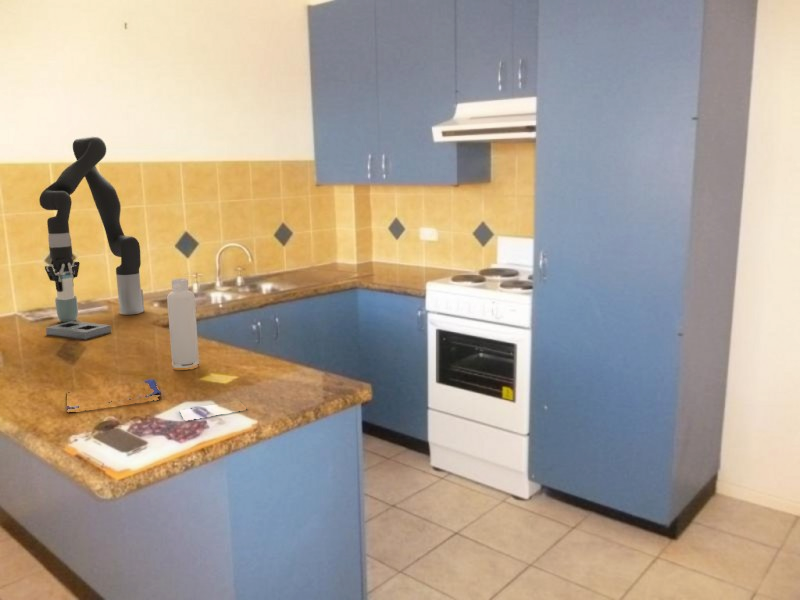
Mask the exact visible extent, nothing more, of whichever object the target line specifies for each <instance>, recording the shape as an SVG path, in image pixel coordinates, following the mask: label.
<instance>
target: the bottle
mask: <svg viewBox="0 0 800 600" xmlns="http://www.w3.org/2000/svg"><path fill="white" fill-rule="evenodd" d="M166 302H167V315H168V316H167V317H168V327H169V328H168V329H169V340H170V342H169V343H170V350H171V351H170V352H171V361H172V363H171V367H172V366H173V367H174V368H188V367H192V366H195V365H197V364H199V365H200V360H199V358H200V357H199V355H200V354H199V342H198V328H197V312H196V297H195V294H194V292H193V291H191V290H189V279H188V278H183V277H181V278H173V279H171V291H170V292H169V293H168V294H167V297H166ZM192 363H193V364H192ZM174 364H175V365H174Z"/></svg>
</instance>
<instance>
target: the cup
mask: <svg viewBox="0 0 800 600" xmlns="http://www.w3.org/2000/svg"><path fill="white" fill-rule="evenodd" d="M54 301H55V308H56V309H55V311H56V314H57V318H58V320H59V321H60V322H62V323H66V322H70V321H77V319H78V316H79V307H78V297H77V296H76V295H74V298H73V299H68V300H60V299H58V296H57V297H55V299H54Z"/></svg>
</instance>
